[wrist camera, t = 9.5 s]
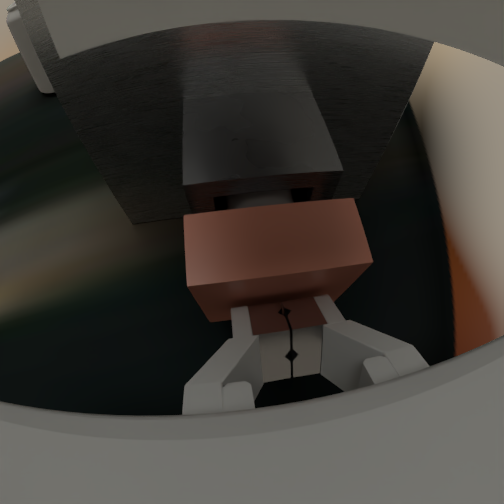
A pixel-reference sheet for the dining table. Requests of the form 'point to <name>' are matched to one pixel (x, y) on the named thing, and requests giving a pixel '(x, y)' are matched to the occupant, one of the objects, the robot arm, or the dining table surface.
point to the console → (233, 108)
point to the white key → (278, 8)
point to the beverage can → (27, 49)
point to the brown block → (272, 251)
